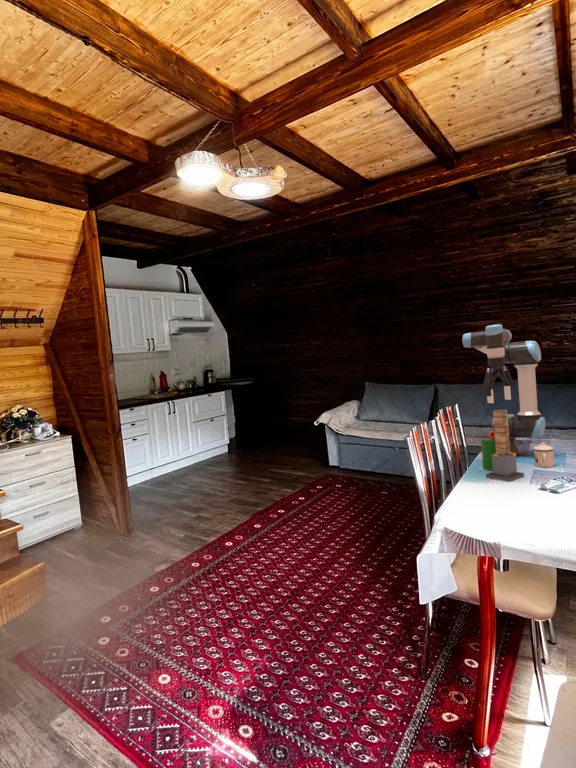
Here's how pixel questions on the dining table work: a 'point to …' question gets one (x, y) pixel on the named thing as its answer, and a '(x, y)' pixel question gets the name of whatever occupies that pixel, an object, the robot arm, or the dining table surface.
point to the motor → (488, 451)
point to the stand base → (504, 467)
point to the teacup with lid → (544, 455)
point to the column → (501, 432)
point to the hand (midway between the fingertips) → (499, 401)
